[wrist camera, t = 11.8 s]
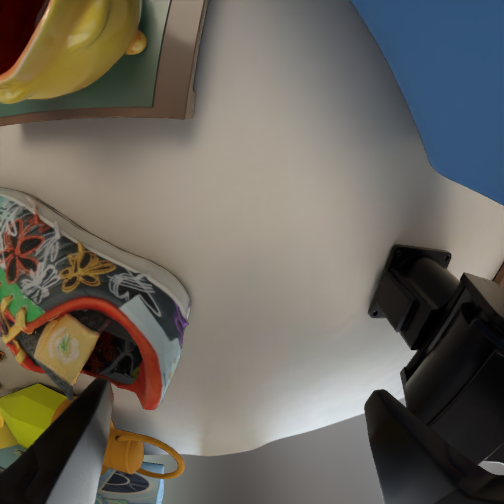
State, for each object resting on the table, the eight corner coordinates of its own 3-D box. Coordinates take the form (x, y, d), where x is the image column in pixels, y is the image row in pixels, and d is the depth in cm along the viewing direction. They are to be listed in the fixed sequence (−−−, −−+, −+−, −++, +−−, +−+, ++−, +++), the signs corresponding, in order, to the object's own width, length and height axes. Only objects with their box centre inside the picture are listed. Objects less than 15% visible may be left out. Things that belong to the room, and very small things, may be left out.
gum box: (164, 463, 34) (154, 526, 14) (163, 492, 31) (157, 568, 12) (44, 435, 30) (-44, 452, 10) (44, 463, 28) (-37, 496, 8)
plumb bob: (22, 407, 27) (194, 456, 27) (-10, 446, 18) (182, 520, 18) (0, 353, 25) (189, 400, 25) (-42, 389, 16) (168, 475, 16)
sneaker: (-37, 162, 13) (-124, 207, 5) (208, 258, 20) (207, 374, 11) (-39, 245, 16) (-104, 307, 8) (174, 337, 22) (164, 447, 14)
